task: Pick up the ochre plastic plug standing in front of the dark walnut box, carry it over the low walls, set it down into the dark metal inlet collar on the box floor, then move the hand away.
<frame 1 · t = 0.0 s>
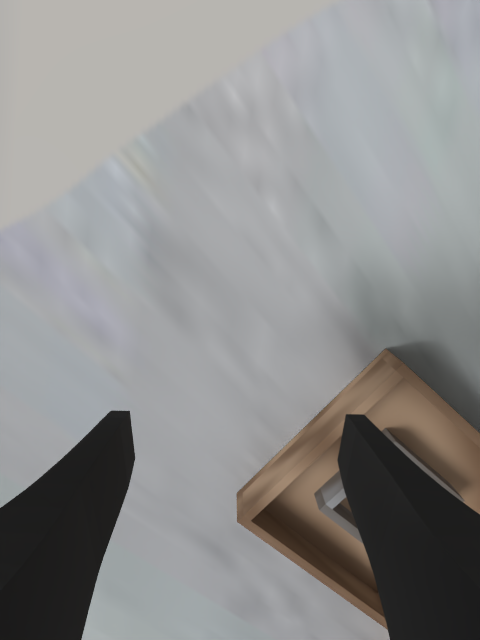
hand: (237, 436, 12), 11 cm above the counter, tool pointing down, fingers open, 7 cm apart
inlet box: (379, 483, 25), on the counter
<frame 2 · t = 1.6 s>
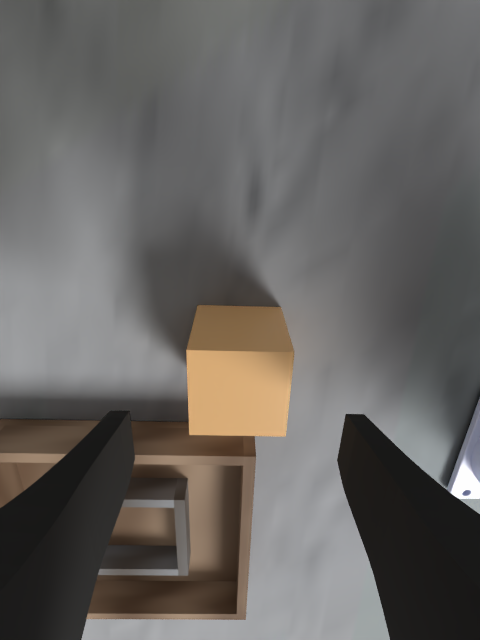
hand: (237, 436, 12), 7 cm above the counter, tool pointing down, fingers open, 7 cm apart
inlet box: (137, 509, 23), on the counter
plug: (238, 342, 19), on the counter
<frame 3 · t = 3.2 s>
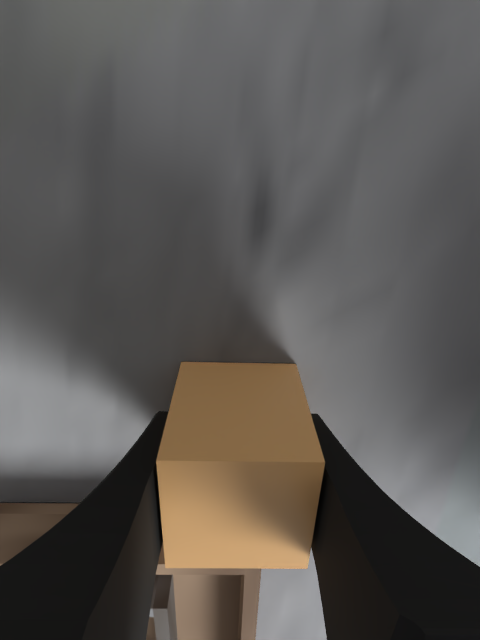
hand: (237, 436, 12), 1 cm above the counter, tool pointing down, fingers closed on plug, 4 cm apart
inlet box: (110, 602, 18), on the counter
plug: (237, 409, 14), on the counter, touching gripper
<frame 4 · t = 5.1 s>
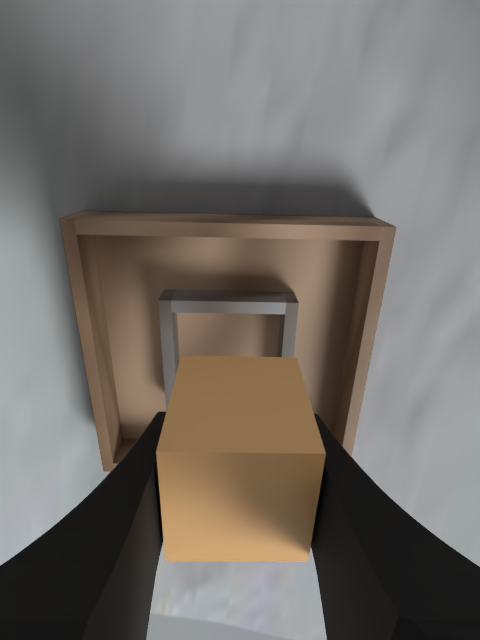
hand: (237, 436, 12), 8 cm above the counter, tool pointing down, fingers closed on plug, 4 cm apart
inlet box: (228, 343, 20), on the counter
plug: (237, 403, 14), point 7 cm above the counter, touching gripper
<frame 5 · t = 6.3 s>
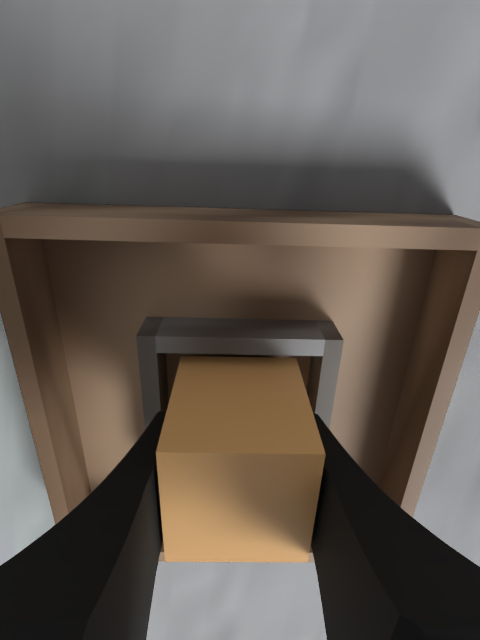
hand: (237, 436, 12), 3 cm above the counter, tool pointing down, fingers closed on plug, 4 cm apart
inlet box: (237, 388, 15), on the counter
plug: (237, 404, 14), point 1 cm above the counter, touching gripper
when the fingers open (3 cm above the counter, at t = 7.1 s): plug stays where it is, resting on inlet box.
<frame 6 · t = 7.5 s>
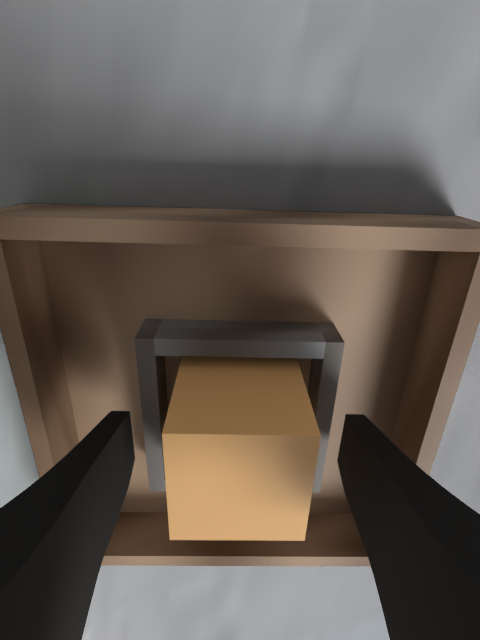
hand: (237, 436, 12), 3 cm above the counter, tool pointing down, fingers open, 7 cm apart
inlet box: (237, 390, 15), on the counter
plug: (237, 393, 14), resting on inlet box
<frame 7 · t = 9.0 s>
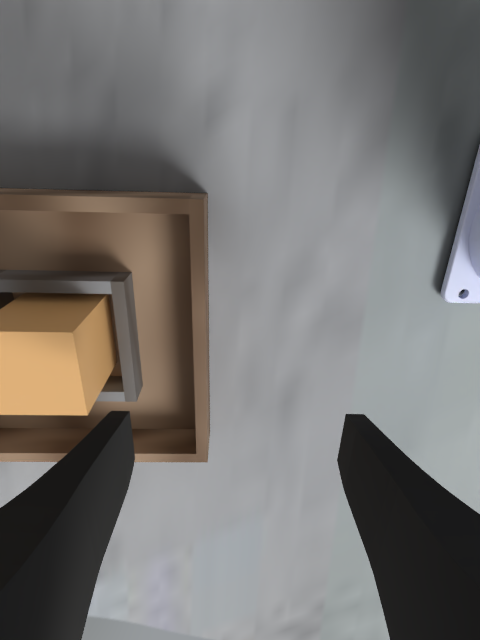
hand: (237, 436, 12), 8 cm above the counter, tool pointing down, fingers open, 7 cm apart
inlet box: (77, 327, 20), on the counter
plug: (74, 328, 19), resting on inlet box
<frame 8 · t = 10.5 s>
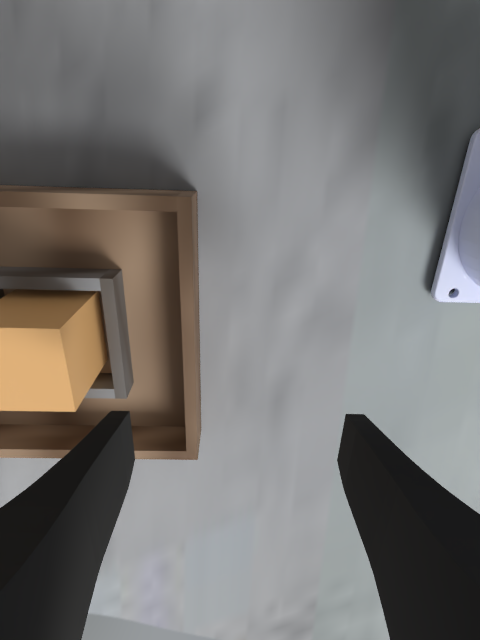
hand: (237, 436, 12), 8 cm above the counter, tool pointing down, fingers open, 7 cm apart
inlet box: (68, 324, 20), on the counter
plug: (64, 325, 19), resting on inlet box
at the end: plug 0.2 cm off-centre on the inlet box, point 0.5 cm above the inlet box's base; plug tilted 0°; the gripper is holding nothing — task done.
